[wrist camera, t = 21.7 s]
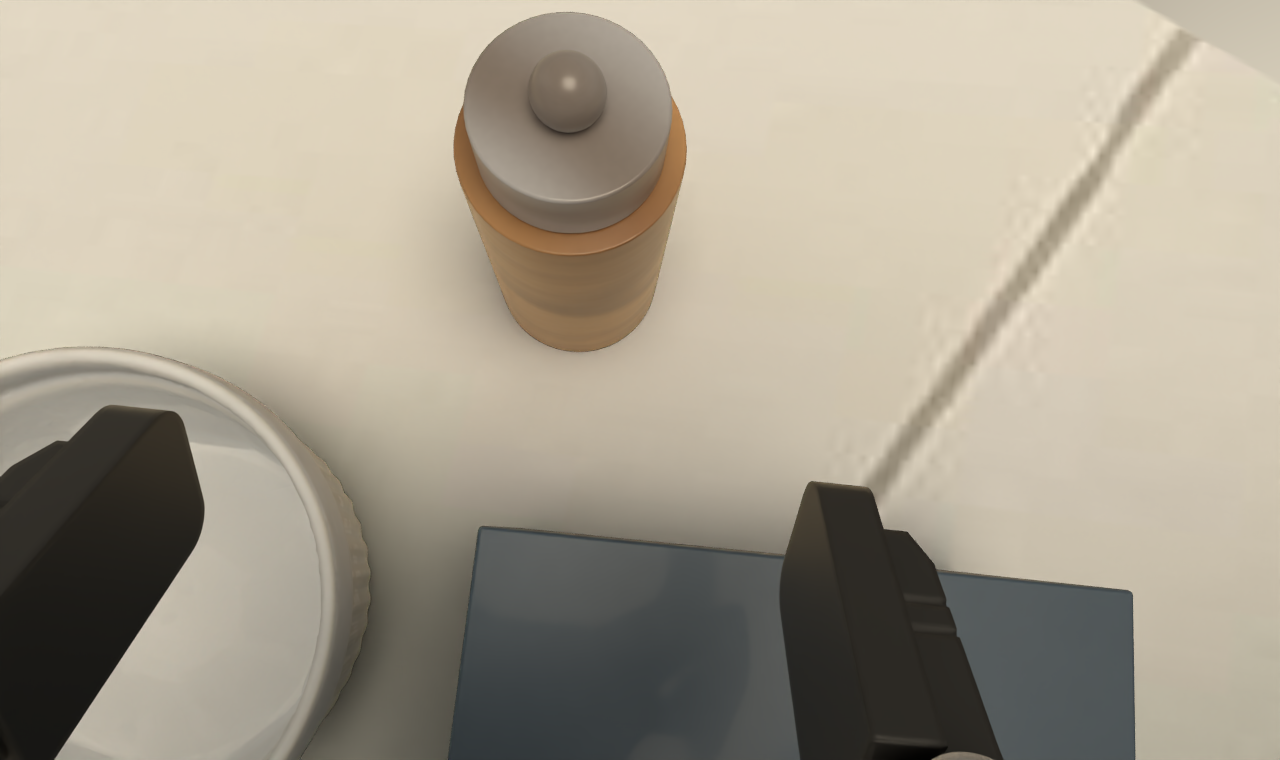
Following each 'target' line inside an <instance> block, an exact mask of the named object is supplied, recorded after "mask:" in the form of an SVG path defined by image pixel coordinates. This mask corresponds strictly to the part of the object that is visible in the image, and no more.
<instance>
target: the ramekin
mask: <svg viewBox="0 0 1280 760" xmlns="http://www.w3.org/2000/svg"><path fill="white" fill-rule="evenodd" d="M108 405H121V406H131V407H140V408H149V409H159V410H168V411H174V412H176V413H177V414H179V416H180V417H181V418H182V420H183V422H184V425H185V429H186V433H187V436H188V440H189V444H190V448H191V452H192V456H193V460H194V464H195V467H196V471H197V475H198V479H199V483H200V487H201V491H202V494H203V499H204V506H205V515H204V522H203V527H202V531H201V534H200V537H199V540H198V542H197V544H196V546H195V548H194V550H193V551H192V553H191V554H190V556H189V557H188V559H187V560H186V562H185V564H184V565H183V567H182V568H181V570H180V571H179V573H178V574H177V576H176V577H175V579H174V580H173V582H172V583H171V585H170V586H169V588H168V589H167V591H166V592H165V594H164V595H163V597H162V598H161V600H160V601H159V603H158V604H157V606H156V607H155V609H154V610H153V612H152V613H151V615H150V616H149V618H148V619H147V621H146V622H145V624H144V625H143V627H142V628H141V630H140V631H139V633H138V634H137V636H136V637H135V639H134V640H133V642H132V643H131V645H130V646H129V648H128V649H127V651H126V652H125V654H124V656H123V657H122V659H121V660H120V662H119V663H118V665H117V666H116V668H115V669H114V671H113V672H112V674H111V675H110V677H109V678H108V680H107V681H106V683H105V684H104V686H103V687H102V689H101V690H100V692H99V693H98V695H97V696H96V698H95V699H94V701H93V702H92V704H91V705H90V707H89V708H88V710H87V711H86V713H85V714H84V716H83V717H82V719H81V720H80V722H79V723H78V725H77V726H76V728H75V729H74V731H73V732H72V734H71V735H70V737H69V738H68V740H67V741H66V743H65V744H64V746H63V747H62V749H61V751H60V752H59V754H58V755H57V757H56V758H55V760H299V759H300V757H301V756H302V754H303V753H304V751H305V750H306V748H307V746H308V745H309V743H310V741H311V740H312V738H313V736H314V735H315V733H316V731H317V729H318V727H319V725H320V723H321V722H322V721H323V719H324V718H325V717H326V716H327V715H328V713H329V712H330V710H331V709H332V707H333V706H334V704H335V703H336V701H337V699H338V697H339V695H340V692H341V690H342V688H343V687H344V686H345V684H346V683H347V681H348V679H349V677H350V675H351V672H352V667H353V664H354V662H355V660H356V659H357V657H358V655H359V653H360V650H361V643H362V636H363V634H364V632H365V630H366V628H367V624H368V617H367V611H368V607H369V605H370V601H371V596H370V592H369V581H370V577H371V571H370V568H369V565H368V563H367V554H368V548H367V545H366V543H365V542H364V540H363V539H362V535H361V524H360V522H359V520H358V519H357V518H356V516H355V514H354V510H353V503H352V501H351V500H350V498H349V497H348V496H346V494H345V493H344V491H343V488H342V485H341V483H340V481H339V480H338V479H337V478H336V477H335V476H334V475H333V474H332V473H331V471H330V469H329V467H328V466H327V464H326V463H325V462H324V461H323V460H322V459H321V458H319V457H318V456H317V455H315V454H314V453H313V452H312V450H311V449H310V448H309V447H308V446H306V445H305V444H304V443H303V442H302V441H300V440H299V439H298V438H297V436H296V435H295V434H294V433H293V432H292V431H291V430H290V428H289V427H288V426H287V425H285V424H284V423H283V422H282V421H281V420H280V419H279V418H278V417H277V416H276V415H275V414H274V413H273V412H272V411H271V410H269V409H268V408H267V407H266V406H264V405H263V404H262V403H261V402H259V401H258V400H256V399H255V398H254V397H252V396H251V395H249V394H248V393H246V392H245V391H243V390H242V389H240V388H238V387H236V386H235V385H233V384H231V383H229V382H227V381H226V380H224V379H222V378H220V377H218V376H215V375H213V374H211V373H209V372H207V371H204V370H201V369H199V368H196V367H193V366H190V365H187V364H184V363H181V362H178V361H175V360H171V359H168V358H164V357H161V356H157V355H153V354H150V353H145V352H140V351H135V350H128V349H120V348H109V347H63V348H54V349H48V350H41V351H34V352H29V353H24V354H20V355H17V356H12V357H8V358H5V359H2V360H0V476H2V475H3V474H4V473H5V472H6V471H7V470H8V469H9V468H10V467H11V466H12V465H14V464H16V463H18V462H19V461H21V460H23V459H25V458H26V457H28V456H30V455H32V454H34V453H35V452H37V451H39V450H41V449H42V448H44V447H46V446H48V445H50V444H51V443H53V442H55V441H57V440H59V441H69V440H70V439H71V438H72V437H73V436H74V435H75V434H76V433H77V432H78V431H79V430H80V429H81V428H82V427H83V426H84V425H85V424H86V423H87V421H88V420H89V419H90V418H91V417H92V416H93V415H94V414H95V413H96V412H98V411H99V410H100V409H101V408H103V407H105V406H108Z"/></svg>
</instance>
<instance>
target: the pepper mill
mask: <svg viewBox="0 0 1280 760" xmlns="http://www.w3.org/2000/svg"><path fill="white" fill-rule="evenodd" d="M686 153H687V146H686V134H685V130H684V125H683V121H682V118H681V115H680V113H679V110H678V107H677V106H676V104H675V102H674V100H673V98H672V96H671V92H670V88H669V84H668V81H667V79H666V76H665V73H664V71H663V69H662V68H661V66H660V64H659V62H658V61H657V59H656V58H655V56H654V55H653V54H652V52H651V51H650V50H649V49H648V48H647V46H646V45H645V44H644V43H643V42H642V41H641V40H639V39H638V38H637V37H636V36H635V35H633V34H632V33H631V32H629V31H628V30H626V29H625V28H623V27H621V26H620V25H618V24H615V23H613V22H611V21H609V20H606V19H604V18H601V17H598V16H594V15H589V14H584V13H575V12H556V13H549V14H543V15H539V16H536V17H532V18H529V19H527V20H524V21H522V22H519V23H517V24H516V25H514V26H512V27H510V28H508V29H507V30H505V31H504V32H503V33H501V34H500V35H499V36H497V37H496V38H495V39H494V40H493V41H492V42H491V43H490V44H489V45H488V46H487V47H486V48H485V50H484V51H483V52H482V53H481V55H480V56H479V58H478V60H477V61H476V63H475V65H474V66H473V68H472V71H471V73H470V75H469V78H468V81H467V85H466V88H465V94H464V102H463V106H462V108H461V111H460V113H459V116H458V120H457V124H456V127H455V135H454V160H455V166H456V172H457V175H458V178H459V181H460V184H461V187H462V190H463V192H464V195H465V197H466V200H467V203H468V205H469V208H470V210H471V213H472V216H473V218H474V221H475V223H476V226H477V229H478V231H479V234H480V236H481V239H482V241H483V244H484V247H485V249H486V252H487V254H488V257H489V260H490V262H491V265H492V267H493V270H494V273H495V275H496V278H497V280H498V283H499V286H500V288H501V291H502V293H503V296H504V299H505V301H506V304H507V306H508V308H509V310H510V312H511V314H512V315H513V317H514V318H515V320H516V321H517V323H518V324H519V325H520V326H521V327H522V328H523V329H524V330H525V331H526V332H527V333H528V334H529V335H531V336H532V337H534V338H535V339H537V340H538V341H540V342H542V343H544V344H546V345H548V346H551V347H554V348H556V349H561V350H565V351H574V352H583V351H592V350H598V349H601V348H604V347H607V346H610V345H612V344H614V343H616V342H618V341H620V340H621V339H623V338H624V337H626V336H627V335H628V334H629V333H631V332H632V331H633V330H634V329H635V328H636V327H637V326H638V325H639V323H640V322H641V321H642V319H643V318H644V316H645V315H646V313H647V311H648V309H649V307H650V305H651V302H652V299H653V296H654V292H655V288H656V284H657V280H658V276H659V272H660V268H661V264H662V260H663V256H664V251H665V247H666V243H667V239H668V235H669V231H670V227H671V223H672V219H673V215H674V211H675V207H676V203H677V199H678V195H679V191H680V187H681V183H682V179H683V175H684V170H685V165H686Z"/></svg>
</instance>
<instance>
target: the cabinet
mask: <svg viewBox="0 0 1280 760" xmlns="http://www.w3.org/2000/svg"><path fill="white" fill-rule="evenodd" d="M784 558H785V555H784V554H774V553H764V552H754V551H743V550H733V549H723V548H713V547H703V546H693V545H683V544H673V543H663V542H653V541H643V540H633V539H623V538H613V537H603V536H593V535H583V534H573V533H563V532H553V531H543V530H533V529H523V528H509V527H492V526H482V527H480V528H479V530H478V536H477V543H476V551H475V558H474V566H473V573H472V581H471V588H470V596H469V603H468V611H467V618H466V626H465V633H464V641H463V648H462V656H461V663H460V671H459V678H458V686H457V693H456V701H455V708H454V716H453V723H452V731H451V738H450V746H449V753H448V760H800V754H799V747H798V740H797V732H796V725H795V717H794V710H793V703H792V695H791V688H790V681H789V673H788V666H787V658H786V651H785V644H784V636H783V629H782V621H781V614H780V602H779V593H780V578H781V571H782V566H783V561H784ZM936 571H937V574H938V576H939V579H940V582H941V585H942V588H943V591H944V593H945V596H946V599H947V601H946V606H947V607H949V608H950V610H951V613H952V616H953V619H954V622H955V625H956V627H957V637H960V639H961V642H962V644H963V647H964V650H965V653H966V656H967V659H968V661H969V664H970V667H971V670H972V673H973V676H974V678H975V681H976V684H977V687H978V690H979V693H980V696H981V698H982V701H983V704H984V707H985V710H986V713H987V715H988V718H989V721H990V724H991V727H992V730H993V732H994V735H995V738H996V741H997V744H998V747H999V749H1000V752H1001V754H1002V757H1003V759H1004V760H1135V703H1134V639H1133V594H1132V592H1130V591H1128V590H1121V589H1112V588H1103V587H1093V586H1084V585H1075V584H1066V583H1056V582H1047V581H1038V580H1028V579H1019V578H1010V577H1001V576H991V575H982V574H973V573H963V572H954V571H944V570H936Z"/></svg>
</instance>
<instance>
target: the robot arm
mask: <svg viewBox="0 0 1280 760" xmlns="http://www.w3.org/2000/svg"><path fill="white" fill-rule="evenodd" d="M204 515H205V506H204V499H203V494H202V491H201V487H200V483H199V479H198V475H197V471H196V467H195V464H194V460H193V456H192V452H191V448H190V444H189V440H188V436H187V433H186V429H185V425H184V422H183V420H182V418H181V417H180V416H179V414H177V413H176V412H174V411H168V410H159V409H149V408H140V407H131V406H121V405H108V406H105V407H103V408H101V409H100V410H99V411H98V412H96V413H95V414H94V415H93V416H92V417H91V418H90V419H89V420H88V421H87V423H86V424H85V425H84V426H83V427H82V428H81V429H80V430H79V431H78V432H77V433H76V434H75V435H74V436H73V437H72V438H71V439H70V440H69V441H59V440H57V441H55V442H53V443H51V444H50V445H48V446H46V447H44V448H42V449H41V450H39V451H37V452H35V453H34V454H32V455H30V456H28V457H26V458H25V459H23V460H21V461H19V462H18V463H16V464H14V465H12V466H11V467H10V468H9V469H8V470H7V471H6V472H5V473H4V474H3V475H2V476H0V760H55V758H56V757H57V755H58V754H59V752H60V751H61V749H62V747H63V746H64V744H65V743H66V741H67V740H68V738H69V737H70V735H71V734H72V732H73V731H74V729H75V728H76V726H77V725H78V723H79V722H80V720H81V719H82V717H83V716H84V714H85V713H86V711H87V710H88V708H89V707H90V705H91V704H92V702H93V701H94V699H95V698H96V696H97V695H98V693H99V692H100V690H101V689H102V687H103V686H104V684H105V683H106V681H107V680H108V678H109V677H110V675H111V674H112V672H113V671H114V669H115V668H116V666H117V665H118V663H119V662H120V660H121V659H122V657H123V656H124V654H125V652H126V651H127V649H128V648H129V646H130V645H131V643H132V642H133V640H134V639H135V637H136V636H137V634H138V633H139V631H140V630H141V628H142V627H143V625H144V624H145V622H146V621H147V619H148V618H149V616H150V615H151V613H152V612H153V610H154V609H155V607H156V606H157V604H158V603H159V601H160V600H161V598H162V597H163V595H164V594H165V592H166V591H167V589H168V588H169V586H170V585H171V583H172V582H173V580H174V579H175V577H176V576H177V574H178V573H179V571H180V570H181V568H182V567H183V565H184V564H185V562H186V560H187V559H188V557H189V556H190V554H191V553H192V551H193V550H194V548H195V546H196V544H197V542H198V540H199V537H200V534H201V531H202V527H203V522H204ZM946 601H947V599H946V596H945V593H944V591H943V588H942V585H941V582H940V579H939V576H938V574H937V571H936V568H935V565H934V563H933V562H932V561H931V560H930V559H929V557H928V556H927V555H926V554H925V553H924V551H923V550H922V549H921V548H920V547H919V545H918V544H917V543H916V542H915V541H914V539H913V538H912V537H911V536H910V535H909V533H908V532H904V531H894V530H885V529H883V526H882V522H881V519H880V516H879V512H878V509H877V506H876V502H875V499H874V496H873V493H872V492H871V490H870V489H869V488H868V487H861V486H852V485H842V484H833V483H824V482H814V481H811V482H809V483H808V485H807V487H806V489H805V491H804V494H803V498H802V501H801V504H800V508H799V511H798V514H797V518H796V521H795V524H794V528H793V531H792V534H791V538H790V541H789V545H788V548H787V551H786V555H785V558H784V561H783V566H782V571H781V578H780V593H779V602H780V614H781V621H782V629H783V636H784V644H785V651H786V658H787V666H788V673H789V681H790V688H791V695H792V703H793V710H794V717H795V725H796V732H797V740H798V747H799V754H800V760H1004V759H1003V757H1002V754H1001V752H1000V749H999V747H998V744H997V741H996V738H995V735H994V732H993V730H992V727H991V724H990V721H989V718H988V715H987V713H986V710H985V707H984V704H983V701H982V698H981V696H980V693H979V690H978V687H977V684H976V681H975V678H974V676H973V673H972V670H971V667H970V664H969V661H968V659H967V656H966V653H965V650H964V647H963V644H962V642H961V639H960V637H957V627H956V625H955V622H954V619H953V616H952V613H951V610H950V608H949V607H947V606H946Z"/></svg>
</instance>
